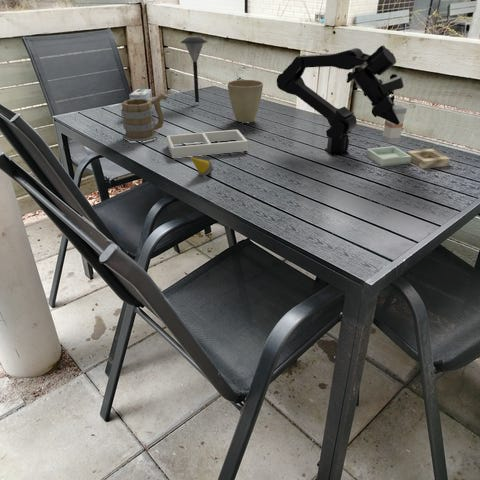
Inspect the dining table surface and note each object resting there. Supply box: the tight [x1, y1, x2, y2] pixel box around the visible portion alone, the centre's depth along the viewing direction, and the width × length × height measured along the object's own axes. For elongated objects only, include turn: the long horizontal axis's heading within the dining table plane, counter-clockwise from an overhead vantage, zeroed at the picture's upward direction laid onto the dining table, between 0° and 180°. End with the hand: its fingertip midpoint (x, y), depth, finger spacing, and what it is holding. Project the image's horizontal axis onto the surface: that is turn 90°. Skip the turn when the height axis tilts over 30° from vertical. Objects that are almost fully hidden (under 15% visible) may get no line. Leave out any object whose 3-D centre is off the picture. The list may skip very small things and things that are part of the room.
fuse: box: [381, 104, 408, 144], centre depth 144 cm, size 4×4×11 cm
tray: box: [365, 145, 412, 168], centre depth 150 cm, size 11×11×2 cm
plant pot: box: [227, 79, 264, 124], centre depth 186 cm, size 15×15×16 cm
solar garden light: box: [180, 36, 208, 103], centre depth 207 cm, size 12×12×30 cm
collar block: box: [406, 148, 451, 170], centre depth 148 cm, size 10×10×2 cm
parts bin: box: [166, 129, 249, 159], centre depth 160 cm, size 27×14×4 cm, turn 105°
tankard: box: [120, 93, 168, 142], centre depth 170 cm, size 20×13×15 cm, turn 131°
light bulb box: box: [128, 88, 154, 107], centre depth 196 cm, size 11×7×11 cm, turn 172°
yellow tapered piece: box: [189, 157, 214, 177], centre depth 138 cm, size 5×5×10 cm
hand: (398, 121), depth 143 cm, fingers closed on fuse, 5 cm apart
